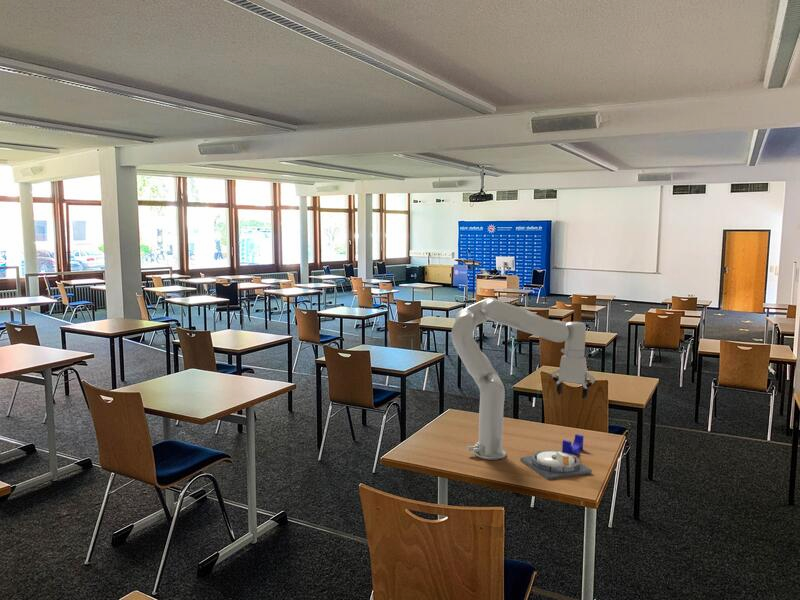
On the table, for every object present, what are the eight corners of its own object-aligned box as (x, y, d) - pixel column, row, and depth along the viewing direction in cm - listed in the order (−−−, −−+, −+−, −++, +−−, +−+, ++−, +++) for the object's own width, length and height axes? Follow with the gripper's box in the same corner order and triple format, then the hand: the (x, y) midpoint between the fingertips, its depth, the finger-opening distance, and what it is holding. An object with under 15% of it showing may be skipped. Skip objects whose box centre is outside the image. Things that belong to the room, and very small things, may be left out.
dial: (529, 457, 228) (530, 445, 227) (560, 454, 232) (561, 442, 232) (550, 471, 214) (550, 458, 214) (582, 467, 219) (582, 454, 218)
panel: (547, 479, 211) (547, 470, 211) (520, 460, 229) (520, 452, 229) (591, 473, 218) (592, 464, 217) (562, 455, 235) (562, 447, 235)
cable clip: (572, 458, 234) (572, 443, 233) (561, 455, 237) (562, 440, 236) (586, 450, 242) (586, 436, 242) (576, 448, 245) (576, 434, 245)
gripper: (549, 351, 231) (547, 394, 233) (594, 357, 222) (591, 401, 224) (555, 349, 238) (553, 390, 239) (599, 354, 228) (596, 397, 230)
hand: (571, 395), depth 231 cm, fingers open, 9 cm apart
